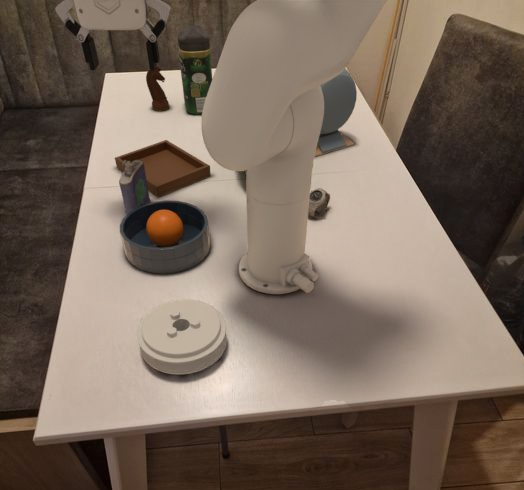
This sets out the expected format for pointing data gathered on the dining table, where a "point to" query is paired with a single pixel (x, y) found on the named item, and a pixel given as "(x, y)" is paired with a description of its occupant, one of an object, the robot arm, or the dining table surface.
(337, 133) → the alarm clock
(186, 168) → the tray
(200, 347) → the lid
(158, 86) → the chess piece
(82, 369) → the dining table surface
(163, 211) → the mandarin
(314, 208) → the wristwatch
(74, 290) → the dining table surface
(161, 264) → the bowl
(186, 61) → the coffee jar
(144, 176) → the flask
